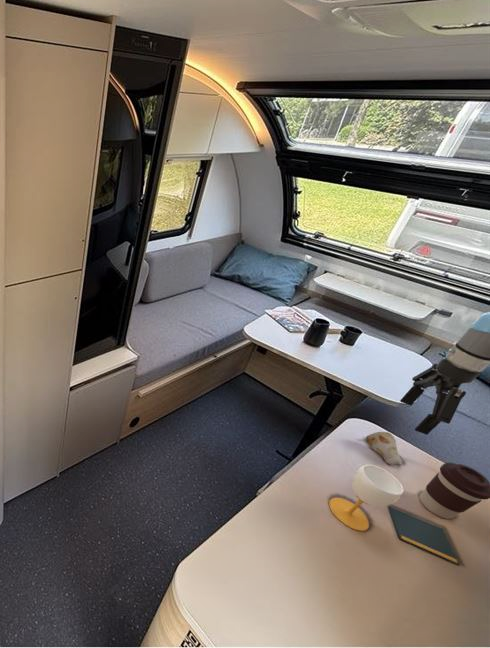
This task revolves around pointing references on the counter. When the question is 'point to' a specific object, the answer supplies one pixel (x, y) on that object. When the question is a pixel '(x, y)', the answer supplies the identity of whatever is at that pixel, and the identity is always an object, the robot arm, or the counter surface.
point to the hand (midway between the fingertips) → (412, 416)
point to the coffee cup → (454, 490)
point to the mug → (385, 446)
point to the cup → (367, 495)
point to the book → (422, 535)
